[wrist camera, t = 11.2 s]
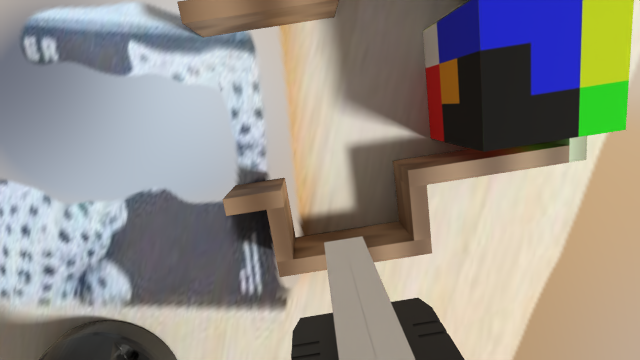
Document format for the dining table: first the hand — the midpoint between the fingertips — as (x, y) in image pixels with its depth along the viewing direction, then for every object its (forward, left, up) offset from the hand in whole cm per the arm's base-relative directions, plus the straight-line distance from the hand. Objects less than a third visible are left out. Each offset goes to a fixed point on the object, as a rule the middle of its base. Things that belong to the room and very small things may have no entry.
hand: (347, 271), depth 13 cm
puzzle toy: (+16, +7, -21) cm, 27 cm away
